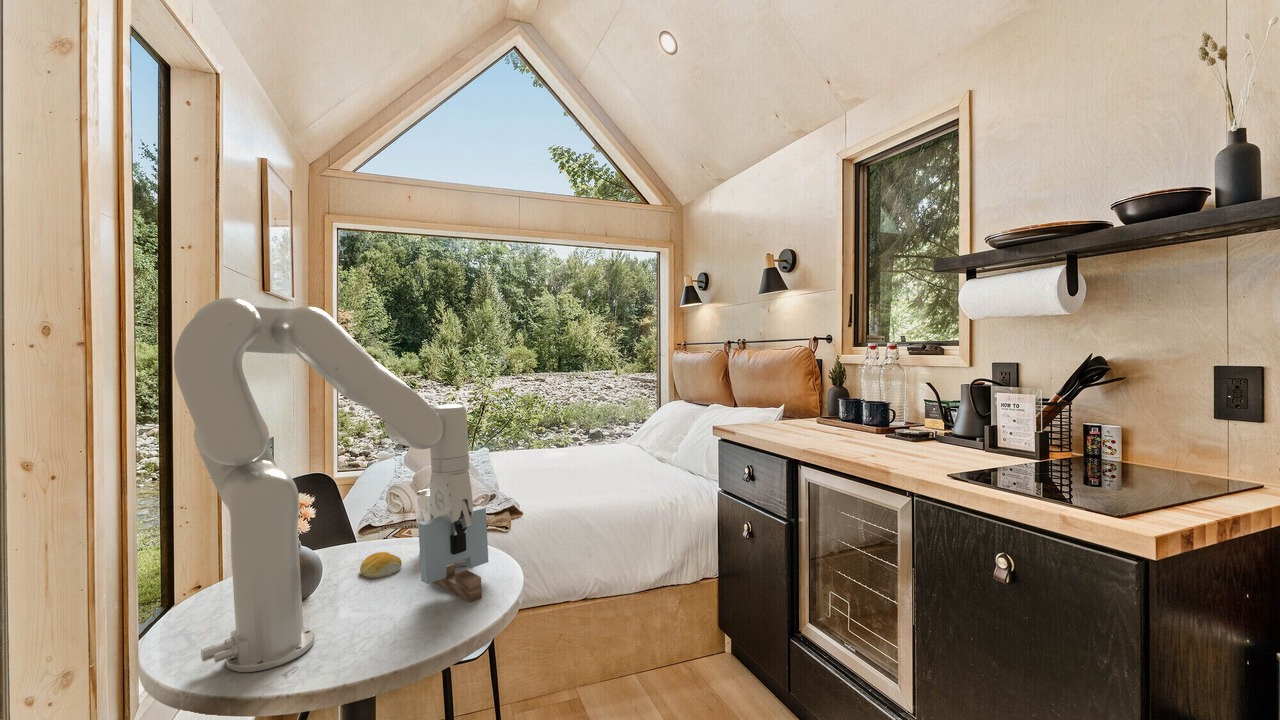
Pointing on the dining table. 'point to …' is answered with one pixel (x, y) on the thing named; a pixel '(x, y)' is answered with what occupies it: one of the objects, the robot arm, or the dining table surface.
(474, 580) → the brown wooden bar
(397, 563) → the bread roll
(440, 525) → the blue board
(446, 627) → the dining table surface
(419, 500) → the shiny metal tumbler
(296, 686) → the dining table surface
